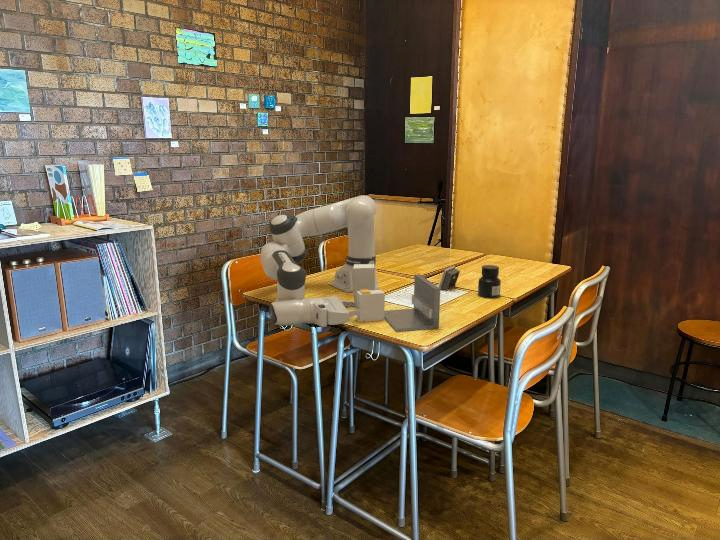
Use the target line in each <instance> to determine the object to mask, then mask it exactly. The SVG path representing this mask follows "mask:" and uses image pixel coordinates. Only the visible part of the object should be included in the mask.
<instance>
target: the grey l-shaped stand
mask: <svg viewBox="0 0 720 540" xmlns="http://www.w3.org/2000/svg"><path fill="white" fill-rule="evenodd" d="M413 279H414V284H413V294H412V295H411V305H412V306H413V308H402V309H401V308H400V309H389V310H387V309H386V310H384V321H385V322H387V323H388V324H389V325H390V326H391V327H392V328H393V329H394V331H395V332H396V333H401V332H411V331H421V330H422V331H423V330H433V329H434V330H435V329H439V328H440V310H441V309H440V306H441V290H440V288H439V286H437V285H436V284H434V283H433V282H432V281H431V280H428V279H427V278H426V277H425V276H423V275H422V274H419V273H418V274H414V278H413Z"/></svg>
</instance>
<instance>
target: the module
mask: <svg viewBox="0 0 720 540" xmlns="http://www.w3.org/2000/svg"><path fill="white" fill-rule="evenodd" d="M385 298H386V293H385V292H384V290H382V289H376V290H368V289H364V290H360V291H357V307H356V309H359V310H360V315H356V320H358V322H359V321H360V323H363V321H366V322H376V321H377V322H378V320H379V321H385V318H384V311H385Z"/></svg>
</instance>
